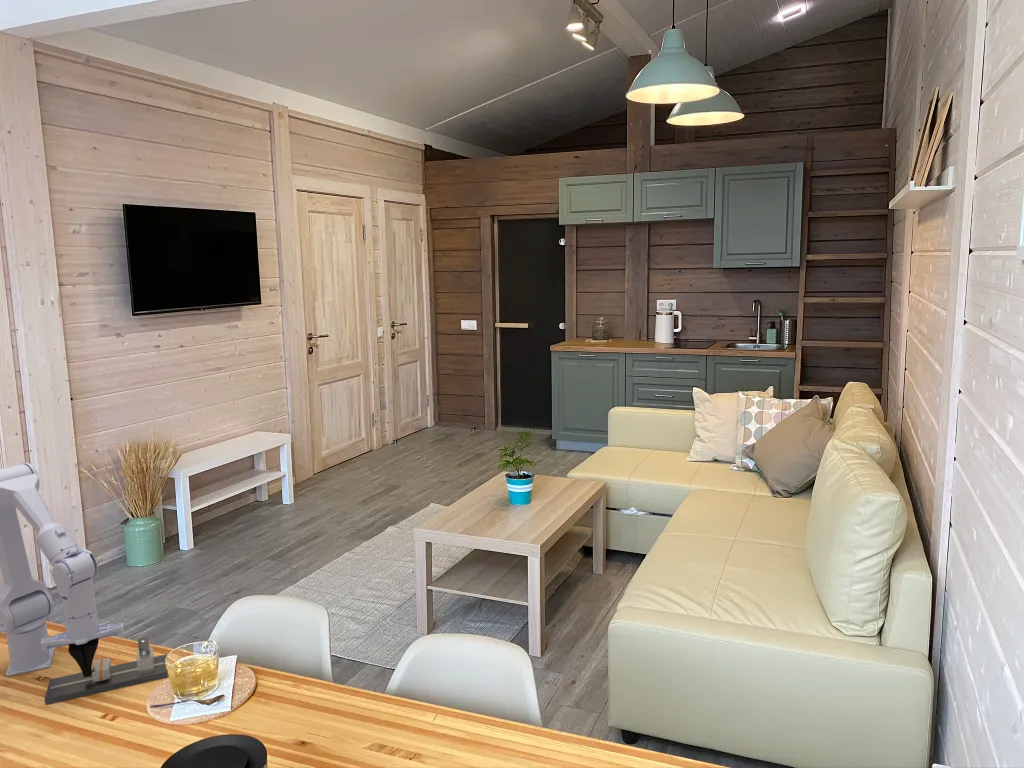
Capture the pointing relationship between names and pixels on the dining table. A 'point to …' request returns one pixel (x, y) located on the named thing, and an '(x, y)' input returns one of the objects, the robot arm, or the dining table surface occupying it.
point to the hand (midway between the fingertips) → (87, 674)
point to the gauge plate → (119, 677)
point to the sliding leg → (101, 669)
